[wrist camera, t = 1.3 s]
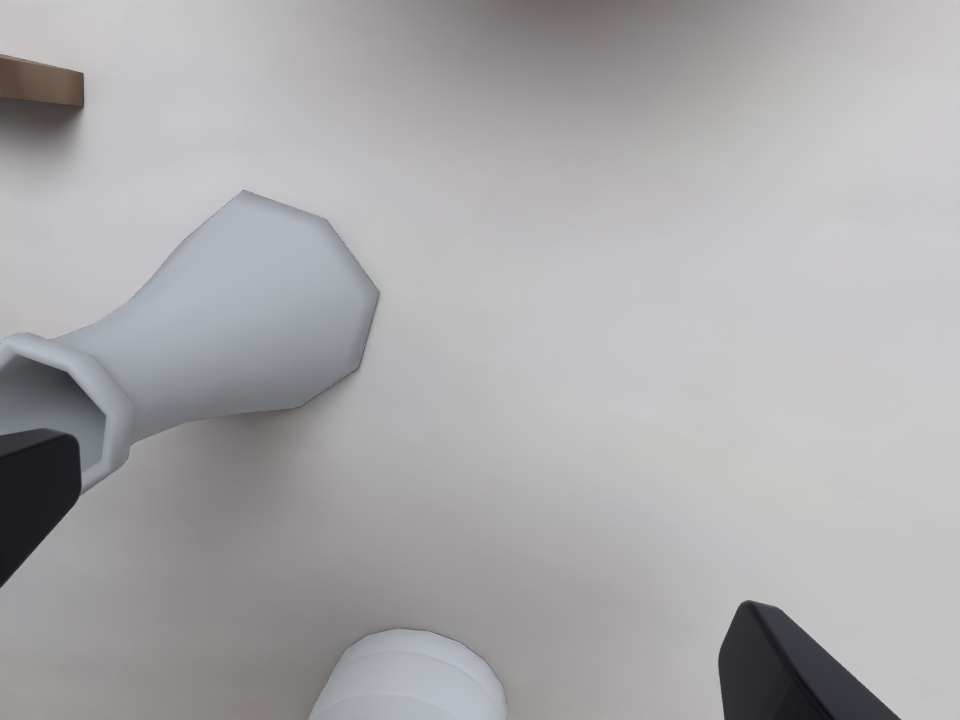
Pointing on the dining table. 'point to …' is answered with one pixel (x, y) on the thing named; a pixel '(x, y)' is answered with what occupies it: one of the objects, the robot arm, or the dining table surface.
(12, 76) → the bay
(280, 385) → the flask
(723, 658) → the robot arm
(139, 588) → the dining table surface
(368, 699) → the bottle
